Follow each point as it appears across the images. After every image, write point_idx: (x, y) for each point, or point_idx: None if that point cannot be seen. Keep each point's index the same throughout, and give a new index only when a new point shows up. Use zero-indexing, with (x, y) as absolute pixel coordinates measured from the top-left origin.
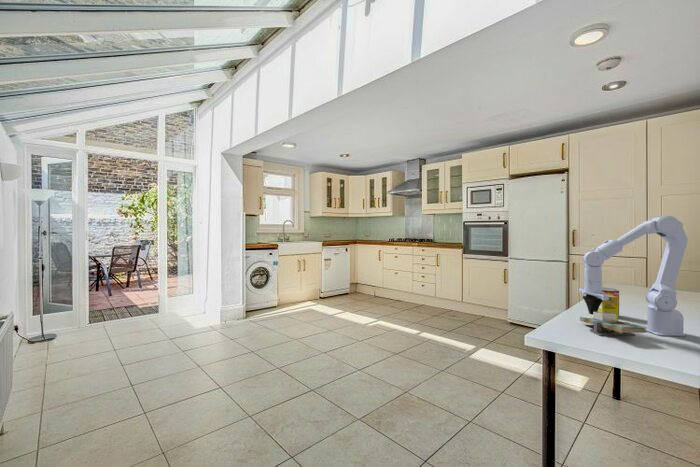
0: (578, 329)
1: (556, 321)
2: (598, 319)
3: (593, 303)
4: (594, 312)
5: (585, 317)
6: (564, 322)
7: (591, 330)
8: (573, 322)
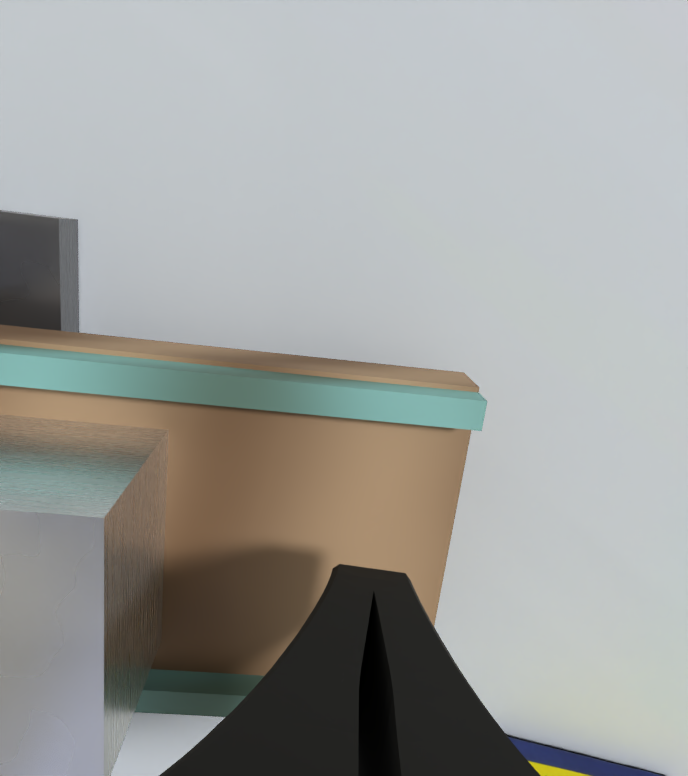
0: (169, 92)
1: (677, 22)
2: (3, 434)
3: None
4: (60, 507)
5: (351, 416)
6: (583, 145)
7: (30, 214)
8: (553, 316)
